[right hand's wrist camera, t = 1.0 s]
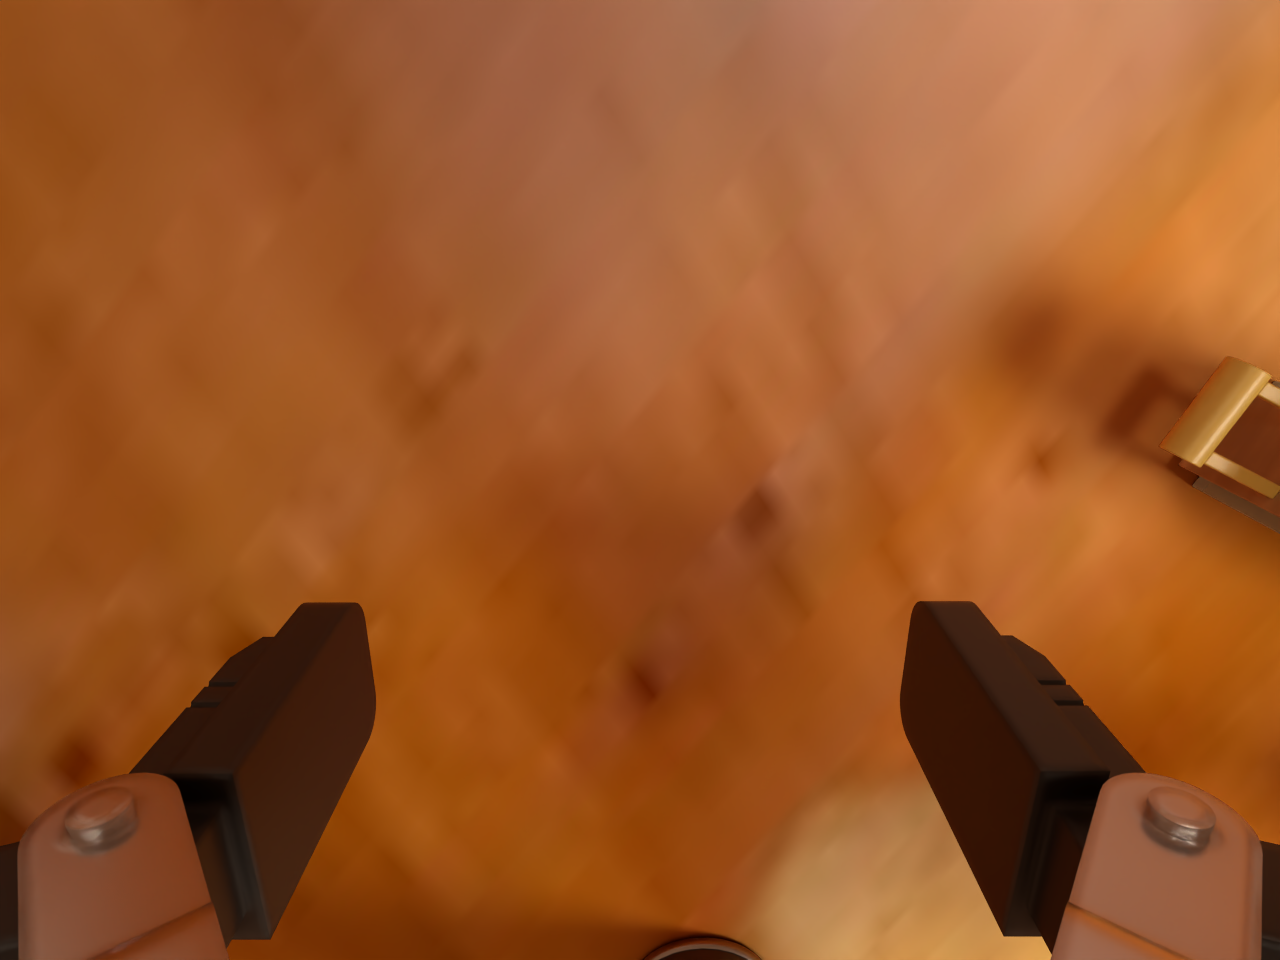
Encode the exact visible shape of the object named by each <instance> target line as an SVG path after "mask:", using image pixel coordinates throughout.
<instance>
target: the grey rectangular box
mask: <svg viewBox="0 0 1280 960" xmlns="http://www.w3.org/2000/svg"><path fill="white" fill-rule="evenodd" d="M1272 384H1273V385H1275V386H1277V387H1278V388H1280V382H1277V381H1274V382H1273V383H1272ZM1192 486H1193V487H1194V488H1196V489H1198V490H1200V491H1202V492H1204V493H1205V494H1207V495H1209V496H1211V497H1213V498H1215V499H1216V500H1218V501H1220V502H1222V503H1224V504H1226V505H1227V506H1229V507H1231V508H1233V509H1235V510H1237V511H1239V512H1240V513H1242V514H1244V515H1246V516H1248V517H1250V518H1251V519H1253V520H1255V521H1257V522H1259V523H1261V524H1263V525H1264V526H1266V527H1268V528H1270V529H1272V530H1274V531H1275V532H1277V533H1279V534H1280V517H1278V516H1276V515H1274V514H1272V513H1270V512H1268V511H1266V510H1264V509H1262V508H1260V507H1258V506H1256V505H1255V504H1253V503H1251V502H1249V501H1247V500H1245V499H1243V498H1241V497H1239V496H1237V495H1235V494H1233V493H1231V492H1229V491H1227V490H1225V489H1224V488H1222V487H1220V486H1218V485H1216V484H1214V483H1212V482H1210V481H1208V480H1206V479H1204V478H1202V477H1200V476H1199V478H1198V479H1197V480H1196V481H1195V483H1194V484H1193V485H1192Z"/></svg>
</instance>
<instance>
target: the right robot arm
mask: <svg viewBox="0 0 1280 960" xmlns="http://www.w3.org/2000/svg"><path fill="white" fill-rule="evenodd" d="M900 709H901V718H902V723H903V727H904V731H905V734H906V736H907V739H908V741H909V743H910V745H911V747H912V749H913V751H914V753H915V755H916V757H917V759H918V761H919V763H920V765H921V768H922V770H923V772H924V774H925V776H926V778H927V780H928V782H929V784H930V786H931V788H932V790H933V792H934V794H935V796H936V798H937V800H938V802H939V804H940V807H941V809H942V811H943V813H944V815H945V817H946V819H947V821H948V823H949V825H950V827H951V829H952V831H953V833H954V835H955V837H956V839H957V841H958V843H959V846H960V848H961V850H962V852H963V854H964V856H965V858H966V860H967V862H968V864H969V866H970V868H971V870H972V872H973V874H974V876H975V878H976V880H977V882H978V885H979V887H980V889H981V891H982V893H983V895H984V897H985V899H986V901H987V903H988V905H989V907H990V909H991V911H992V913H993V915H994V917H995V919H996V921H997V924H998V926H999V928H1000V930H1001V932H1002V934H1003V936H1042V937H1043V939H1044V941H1045V943H1046V945H1047V947H1048V948H1049V950H1050V952H1051V954H1052V957H1051V960H1280V845H1278V844H1273V843H1269V842H1264V841H1260V840H1259V839H1258V836H1257V835H1256V833H1255V832H1254V830H1253V829H1252V827H1251V826H1250V825H1249V824H1248V823H1247V822H1246V821H1245V820H1244V819H1243V818H1242V817H1241V816H1240V815H1239V814H1238V813H1237V812H1236V811H1234V810H1233V809H1232V808H1231V807H1229V806H1228V805H1226V804H1225V803H1224V802H1222V801H1221V800H1219V799H1217V798H1216V797H1214V796H1212V795H1211V794H1209V793H1207V792H1205V791H1203V790H1201V789H1199V788H1197V787H1195V786H1192V785H1190V784H1187V783H1185V782H1182V781H1179V780H1176V779H1173V778H1170V777H1165V776H1161V775H1156V774H1149V773H1146V772H1145V771H1144V770H1143V769H1142V768H1141V766H1140V765H1139V764H1138V763H1137V762H1136V761H1135V760H1134V758H1133V757H1132V756H1131V755H1130V754H1129V753H1128V751H1127V750H1126V749H1125V748H1124V747H1123V746H1122V745H1121V743H1120V742H1119V741H1118V740H1117V739H1116V738H1115V736H1114V735H1113V734H1112V733H1111V732H1110V731H1109V730H1108V728H1107V727H1106V726H1105V725H1104V724H1103V723H1102V721H1101V720H1100V719H1099V718H1098V717H1097V716H1096V715H1095V713H1094V712H1093V711H1092V710H1091V709H1090V708H1089V707H1088V706H1084V704H1083V700H1082V698H1081V697H1080V696H1079V695H1078V694H1077V693H1076V692H1075V690H1074V689H1073V688H1072V687H1071V686H1070V685H1066V680H1065V679H1064V678H1063V677H1062V675H1061V674H1060V673H1059V672H1058V671H1057V670H1056V669H1055V667H1054V666H1053V665H1052V664H1051V663H1050V662H1049V660H1048V659H1047V658H1046V657H1045V656H1044V655H1042V654H1041V653H1039V652H1037V651H1036V650H1034V649H1033V648H1031V647H1030V646H1028V645H1026V644H1025V643H1023V642H1022V641H1020V640H1018V639H1017V638H1015V637H1014V636H1001V635H1000V634H999V633H998V631H997V630H996V629H995V628H994V626H993V625H992V624H991V623H990V621H989V620H988V619H987V618H986V616H985V615H984V614H983V613H982V612H981V610H980V609H979V608H978V607H977V605H976V604H975V603H973V602H970V601H920V602H917V603H916V604H915V606H914V608H913V611H912V614H911V620H910V627H909V634H908V641H907V648H906V656H905V663H904V670H903V677H902V684H901V692H900ZM375 711H376V693H375V686H374V679H373V671H372V664H371V657H370V650H369V643H368V636H367V629H366V622H365V616H364V612H363V610H362V607H361V606H360V605H359V604H358V603H303V604H301V605H300V606H299V607H298V608H297V610H296V611H295V612H294V613H293V615H292V616H291V617H290V618H289V619H288V621H287V622H286V623H285V624H284V626H283V627H282V628H281V629H280V630H279V632H278V633H277V634H276V635H275V637H262V638H261V639H259V640H257V641H256V642H254V643H253V644H251V645H250V646H248V647H246V648H245V649H243V650H242V651H240V652H238V653H237V654H235V655H234V656H232V657H230V658H229V660H228V661H227V662H226V663H225V664H224V665H223V666H222V668H221V669H220V670H219V671H218V672H217V673H216V674H215V676H214V677H213V678H212V679H211V680H210V681H209V686H208V687H204V688H203V689H202V690H201V692H200V693H199V694H198V695H197V696H196V697H195V698H194V700H193V701H192V702H191V707H190V708H186V709H185V710H184V711H183V712H182V713H181V714H180V716H179V717H178V718H177V719H176V720H175V721H174V722H173V724H172V725H171V726H170V727H169V728H168V729H167V730H166V732H165V733H164V734H163V735H162V736H161V737H160V738H159V740H158V741H157V742H156V743H155V744H154V745H153V746H152V748H151V749H150V750H149V751H148V752H147V753H146V754H145V756H144V757H143V758H142V759H141V760H140V761H139V762H138V764H137V765H136V766H135V767H134V768H133V769H132V770H131V772H130V773H129V774H124V775H119V776H115V777H110V778H107V779H104V780H101V781H98V782H95V783H93V784H90V785H88V786H85V787H83V788H81V789H79V790H77V791H75V792H73V793H71V794H69V795H68V796H66V797H64V798H63V799H61V800H59V801H58V802H56V803H55V804H54V805H52V806H51V807H49V808H48V809H47V810H46V811H44V812H43V813H42V814H41V815H40V816H39V817H38V818H37V819H36V820H35V821H34V822H33V823H32V824H31V825H30V826H29V827H28V829H27V830H26V832H25V833H24V835H23V836H22V839H21V841H20V842H16V843H12V844H8V845H4V846H0V960H229V957H228V953H227V950H226V949H227V947H228V945H229V943H230V941H231V940H232V939H271V937H272V935H273V933H274V931H275V929H276V927H277V925H278V923H279V921H280V919H281V917H282V915H283V913H284V911H285V909H286V906H287V904H288V902H289V900H290V898H291V896H292V894H293V892H294V890H295V888H296V886H297V884H298V882H299V880H300V878H301V876H302V874H303V872H304V870H305V868H306V866H307V864H308V862H309V860H310V858H311V856H312V854H313V852H314V850H315V848H316V846H317V844H318V842H319V840H320V838H321V836H322V833H323V831H324V829H325V827H326V825H327V823H328V821H329V819H330V817H331V815H332V813H333V811H334V809H335V807H336V805H337V803H338V801H339V799H340V797H341V795H342V793H343V791H344V789H345V787H346V785H347V783H348V781H349V779H350V777H351V775H352V773H353V771H354V769H355V767H356V765H357V763H358V761H359V758H360V756H361V754H362V752H363V750H364V748H365V746H366V744H367V742H368V740H369V738H370V735H371V732H372V729H373V725H374V720H375ZM644 960H761V959H760V958H759V957H758V956H757V955H756V954H755V953H753V952H752V951H750V950H749V949H747V948H745V947H743V946H741V945H739V944H737V943H734V942H731V941H727V940H723V939H717V938H690V939H684V940H679V941H676V942H672V943H670V944H667V945H665V946H662V947H660V948H659V949H657V950H655V951H654V952H652V953H651V954H649V955H648V956H647V957H646V958H645V959H644Z"/></svg>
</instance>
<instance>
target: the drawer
mask: <svg viewBox="0 0 1280 960" xmlns="http://www.w3.org/2000/svg"><path fill="white" fill-rule="evenodd" d="M1270 378H1271V375H1270V374H1269V373H1267V372H1266V371H1264V370H1262V369H1260V368H1258V367H1256V366H1254V365H1252V364H1249V363H1247V362H1245V361H1242V360H1239V359H1237V358H1233V357H1228V356H1227V357H1225V359H1224V360H1223V361H1222V363H1221V364H1220V365H1219V367H1218V368H1217V369H1216V371H1215V372H1214V373H1213V375H1212V376H1211V377H1210V379H1209V380H1208V381H1207V383H1206V384H1205V385H1204V387H1203V388H1202V389H1201V391H1200V392H1199V393H1198V395H1197V396H1196V397H1195V399H1194V400H1193V401H1192V403H1191V404H1190V405H1189V407H1188V408H1187V409H1186V411H1185V412H1184V413H1183V415H1182V416H1181V417H1180V419H1179V420H1178V421H1177V423H1176V424H1175V425H1174V427H1173V428H1172V429H1171V431H1170V432H1169V433H1168V435H1167V436H1166V437H1165V438H1164V440H1163V441H1162V442H1161V444H1160V445H1159V447H1160V448H1162V449H1164V450H1166V451H1168V452H1170V453H1172V454H1174V455H1176V456H1178V457H1179V458H1181V459H1182V460H1181V461H1180V463H1179V464H1178V465H1179V466H1181V467H1183V468H1185V469H1187V470H1189V471H1191V472H1193V473H1194V474H1196V475H1198V476H1200V477H1202V478H1204V479H1206V480H1208V481H1210V482H1212V483H1214V484H1216V485H1218V486H1220V487H1222V488H1224V489H1225V490H1227V491H1229V492H1231V493H1233V494H1235V495H1237V496H1239V497H1241V498H1243V499H1245V500H1247V501H1249V502H1251V503H1253V504H1255V505H1256V506H1258V507H1260V508H1262V509H1264V510H1266V511H1268V512H1270V513H1272V514H1274V515H1276V516H1278V517H1280V388H1278V387H1277V386H1275V385H1273V384H1271V383H1269V382H1268V381H1269V380H1270Z"/></svg>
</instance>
